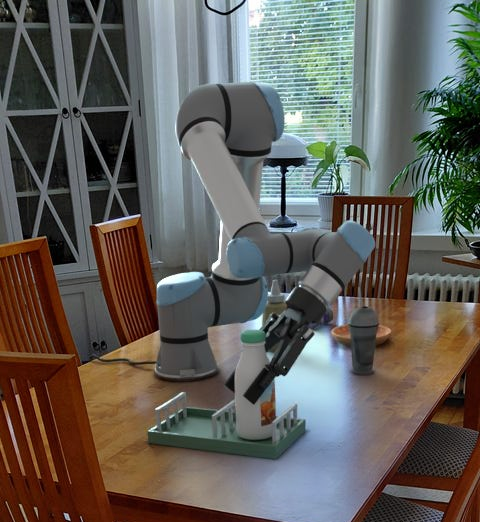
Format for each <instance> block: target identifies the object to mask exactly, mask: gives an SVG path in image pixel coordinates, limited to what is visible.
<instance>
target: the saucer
mask: <svg viewBox="0 0 480 522" xmlns="http://www.w3.org/2000/svg"><path fill="white" fill-rule="evenodd" d="M331 336H332V338H333V339H334V340H335V341H337V342H338V343H339V344H341V345H343V346H347V347H351V338H350V331H349V326H348V323H347V324H343V325H339V326H335V327H334V328H333V329H331ZM391 336H392V329H391V328H389V327H387V326H385V325H382V324H379V325H378V331H377V335H376V344H375V347H376V346H379V345H382V344H383V343H385V342H387V340H388V339H390V337H391Z"/></svg>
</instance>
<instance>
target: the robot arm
mask: <svg viewBox="0 0 480 522" xmlns="http://www.w3.org/2000/svg"><path fill="white" fill-rule="evenodd" d="M285 122H286V121H285V111H284V105H283V102H282V100H281V96H280V94H279V93H278V91H277V89H276V88H275V87H274V86H273V85H272V84H270V83H269V82H259V81H258V82H257V81H253V80H251V81H241V82H224V83H204V84H201V85H198V86H196V87H195V88H193V89H192V90H191V91H189V92H188V93H187V94H186V95H185V97H184V98H183V99H182V101H181V103H180V105H179V107H178V110H177V112H176V116H175V123H174V127H175V137H176V141H177V144H178V147H179V149H180V151H181V153H182V154H183V156H184V158H186V159H187V160H189V161H191V162H192V164H193V167H194V168H195V170H196V172H197V174H198V176H199V178H200V181H201V183H202V185H203V187H204V189H205V191H206V193H207V195H208V198H209V200H210V201H211V203H212V206H213V208H214V210H215V212H216V214H217V216H218V218H219V220H220V234H219V251H218V260H217V261H215V262H214V263H213V264H212V266H211V275H210V276H208V277H206V275H205V274H204V273H203V272H201V271H189V272H181V273H177V274H173V275H170V276H167V277H165V278H163V279H162V280H160V281H159V282H158V283H157V285H156V300H155V304H156V306H157V307H156V309H157V317H158V329H159V330H158V331H159V349H158V352H157V357H156V360H146V361H133V360H131V359H129V358H125V357H119V358H112V359H111V358H110V359H109V358H108V359H107V358H106V359H105V358H101V357H99V356H98V355H96V354H91V355H90V356H89V357H88V358H87V360H92V359H93V358H94V359H96V360H97V361H99V362H102V363H114V362H128V363H129V364H130V365H134V366H141V365H142V366H143V365H154V371H155V372H154V373H155V376H156V377H157V378H159V379H161V380H165V381H169V382H190V381H199V380H203V379H207V378H210V377H212V376H214V375H215V374H217V373H218V362H217V360H216V357H215V354H214V351H213V349H212V347H211V344H210V342H209V341H210V340H209V331H208V330H209V328H211V327H219V326H226V325H233V324H244V323H247V322H251V321H254V320H257V319H259V318H260V317H261V316H263V312H264V310H265V308H266V305H267V300H268V294H269V289H268V288H267V287H268V282H267V279H266V278H265V277H269V276H276V275H284V274H285V275H286V274H287V275H288V274H294V273H300V272H301V273H302V272H305V273H304V274H303V276H302V277H301V278H300V279H299V281H298V283H297V284H298V286H294V287H293V289H292V290H291V292H290V293H289V294H288V295H287V297H285V299H284V302H285V303H286V305H287V309H286V310H285V311H284V312H283V313H282V314H281V315H277V314H276V313H275V312H273V313H272V314H271V315H270V316H269V318H268V320H267V321H266V323H265V324H264V325H263V326H262V325H261V327H260V328H259V329H258V330H262V331H264V332H265V342H266V343H265V344H264V347H265V351H266V354H267V353H268V352H270V351H269V350H270V349H271V348H272V347H273V346H274V345H276V344H277V343H278V342H279V344H278V347H277V349H276V351H274V353H273V355H272V357H271V359H270V364H266V365H265V367H266V368H267V369H268V370H267V369H266V368H263V370H262V371H261V372H260V374H259V375H258V376H257V377H256V379H255V380H254V381H253V383H252V384H251V385H250V387H249V388H248V389H247V391H246V392H245V393H244V395H243V396H244V397H245V398H246V399H247V400H248V401H250V402H251V403H252V404H253V405H254V404H255V403H256V402H257V400H258V399H259V398H260V397H261V395H262V394H263V393H264V391H265V390H266V389H267V388H268V386H269V385H270V383H272V381H273V380H274V379H275V380H276V378H279V377H280V376H282V377H286V376H287V375H288V374H289V372H290V371H291V370H292V367H294V364H295V363H296V361H297V360H298V358H299V356H300V355H301V353H302V352H303V351H304V349H305V347H306V345H307V344H308V343H309V341H311V340H312V338H313V337H314V336H315V334H316V333H315V331H313V329H312V330H311V329H310V328H309V325H317V324H318V322H319V321H320V320H321V318H322V317H323V316H324V314H325V313H326V308H328V307H329V308H331V306H332V305H333V304H334V302H335V301H336V300H337V299H338V297H339V296H340V294H341V293H342V292H343V291H344V289H345V288H346V287H347V286H348V284H349V283H350V282H351V280H352V279H353V278H354V277H355V275H356V274H357V273H358V272H359V271H360V269H361V268H362V266H363V265H364V264H365V263H366V262H367V259H368V258H369V256H370V255H371V253H372V251H373V250H374V249H375V248H376V247H375V246H376V241H375V238H374V236H373V234H371V232H370V231H369V230H368V229H367V228H366V227H364V226H363V225H362V224H360V223H358V222H357V221H354V220H351V219H350V220H346V221H344V222H343V223H342V224H341V225H340V226H339V227H338V228H337V230H336V232H335V231H332V232H331V231H327V230H323V229H320V228H317V227H303V228H300V229H298V230H297V231H293V232H292V231H291V232H283V233H271V232H270V230H269V228H268V226H267V224H266V223H265V220H264V218H263V216H262V214H261V213H260V205H261V193H262V182H263V169H264V160H266V159H267V158H268V157H269V156H270V155H271V153H272V144H273V143H275V142H277V141H279V140H280V139H281V138H282V136H283V134H284V131H285ZM240 352H241V353H242V350H241V351H240ZM100 358H101V359H100ZM235 371H236V368H235V369H234V371H233V372H232V373H231V375H230V376H229V377H228V378H227V380H226V381H225V382H224V383H223V385H224V386H225V387H226V388H227V389H228V390H230V392H232V393H233V394H235Z"/></svg>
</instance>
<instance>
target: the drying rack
mask: <svg viewBox="0 0 480 522" xmlns="http://www.w3.org/2000/svg"><path fill="white" fill-rule="evenodd" d="M186 394H187V393H186V392H184V391H183V392H180V393H178V394H177V395H176V396H174V397H172V398H171V399H169V400H168V401H166V402H164V403H163V404H161V405H159V406H158V407H156V408H155V410H154V412H155V418H156V425H154V426H153V427H151V428H150V429H149V430H147V440H148V444H153V445H154V444H155V445H161V446H162V445H163V446H169V447H177V448H185V449H192V450H200V451H206V452H207V451H208V452H209V451H210V452H215V453H216V452H217V453H223V454H232V455H240V456H247V457H254V458H255V457H256V458H262V459H271V460H276V459H278V457H279V456H281V455H282V454H283V453H284V452H285V451H286V450H287V449H288V448H289V447H290V446H292V444H294V442H296V441H297V440H298V439H299V438H300V437H301V436H302V435H303V434H305V432H306V430H307V428H306V426H307V425H306V423H307V422H306V418H299V417H298V403H297V402H295V403H293V404H292V405H290V406H289V407H288V408H287V409H286V410H284V411H283V412H282V413H281V414H279V415H276V419H275V420H274V421H273V422H272V437H269V438H266V439H259V440H250V439H244V438H241V437H240V436H238V434H237V428H236V411H234V410H233V407H234V406H235V398H234V399H233V400H231V401H230V402H228V403H227V404H226V405H224V406H223V407H222V408H220V409H213V408H204V407H196V406H195V407H193V406H187V398H186ZM180 400H181V407H182V408H181V409H179V407H178V401H180ZM172 405H173V414H171V415H170V406H172ZM162 411H164V415H165V419H164V420H162V421H161V412H162ZM291 413H292V417H291Z"/></svg>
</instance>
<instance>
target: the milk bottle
mask: <svg viewBox="0 0 480 522" xmlns="http://www.w3.org/2000/svg"><path fill="white" fill-rule="evenodd" d="M265 343H266V342H265V332H264V331H262V330H259V329H247V330H243V331H241V332H240V345H241V346H242V347H241V351H242V352H241V353H240V357H239V360H238V362H237V364H236V367H235V369H236V371H235V393H234V399H235V405H234V406H235V412H236V428H237V434H238V436H240V437H241V438H244V439H250V440H259V439H266V438H269V437H272V422H273V421H274V420H275V419H276V416H277V403H276V401H277V400H276V381H275V380H276V378H275V379H274V380H273V381H272V383H270V385H269V386H268V388H267V389H266V390H265V391H264V393H263V394H262V395H261V397H260V398H259V399H258V400H257V402H256V403H255V404H254V405H253V404H252V403H251V402H250V401H248V400H247V399H246V398H245V397H244V396H243V395H244V393H245V392H246V391H247V389H248V388H249V387H250V385H251V384H252V383H253V381H254V380H255V379H256V377H257V376H258V375H259V374H260V372H261V371H262V370H263V368H266V367H265V365H266V364H270V362H271V360H270V359H269V357H268V355H267V353H266V351H265V347H264V344H265ZM266 369H267V368H266ZM267 370H268V369H267Z"/></svg>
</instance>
